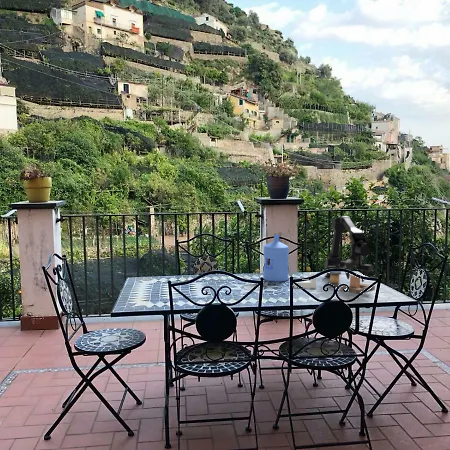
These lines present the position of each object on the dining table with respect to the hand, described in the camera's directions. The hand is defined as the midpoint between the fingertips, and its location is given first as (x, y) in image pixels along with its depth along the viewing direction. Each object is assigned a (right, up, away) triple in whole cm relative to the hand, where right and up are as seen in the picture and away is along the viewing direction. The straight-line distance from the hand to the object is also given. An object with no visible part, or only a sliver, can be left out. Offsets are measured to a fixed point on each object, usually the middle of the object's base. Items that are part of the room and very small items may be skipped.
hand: (355, 280), depth 245 cm
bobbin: (-9, -4, +9) cm, 14 cm away
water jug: (-43, -3, +24) cm, 49 cm away
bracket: (-29, -5, +5) cm, 29 cm away
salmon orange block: (0, -5, +1) cm, 5 cm away
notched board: (+1, -5, -1) cm, 5 cm away
